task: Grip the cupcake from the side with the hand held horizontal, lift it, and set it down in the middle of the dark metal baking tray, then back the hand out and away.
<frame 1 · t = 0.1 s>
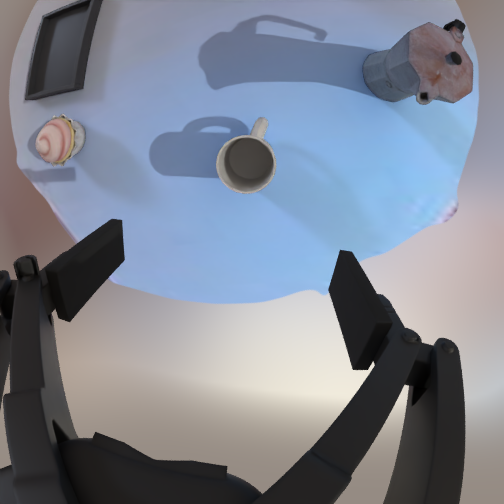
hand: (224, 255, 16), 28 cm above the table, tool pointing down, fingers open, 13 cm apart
cupcake: (74, 137, 39), on the table
cup: (253, 149, 40), on the table
baking tray: (63, 48, 31), on the table
moka pot: (386, 74, 32), on the table
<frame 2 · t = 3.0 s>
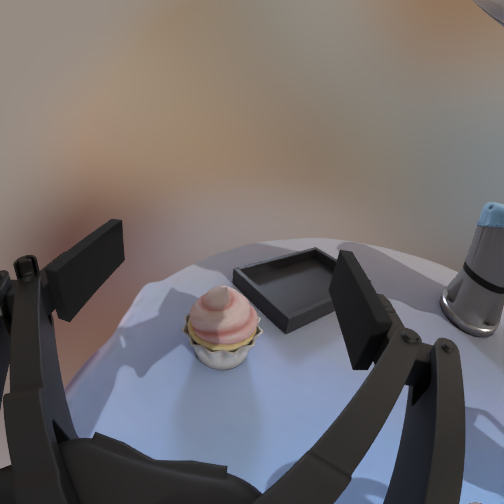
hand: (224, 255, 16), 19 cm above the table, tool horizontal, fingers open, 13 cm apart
cupcake: (222, 353, 33), on the table
baking tray: (302, 289, 47), on the table
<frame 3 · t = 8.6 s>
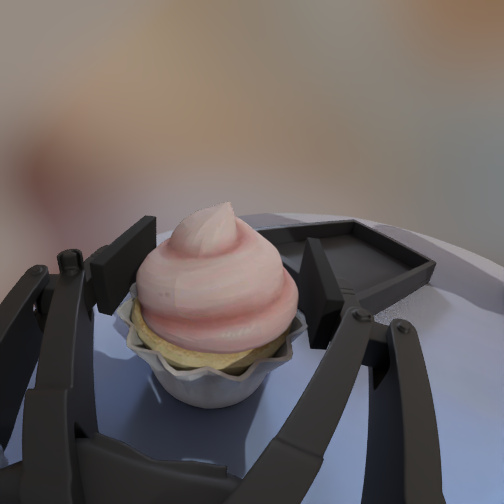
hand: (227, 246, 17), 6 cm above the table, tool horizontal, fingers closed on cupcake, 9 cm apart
cupcake: (210, 370, 15), on the table, touching gripper
baking tray: (344, 269, 30), on the table
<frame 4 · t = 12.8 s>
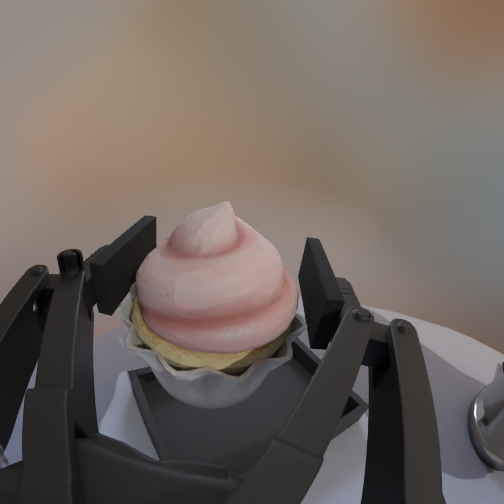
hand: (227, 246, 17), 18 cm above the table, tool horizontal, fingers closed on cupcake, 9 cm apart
cupcake: (210, 370, 15), point 12 cm above the table, touching gripper
baking tray: (246, 413, 24), on the table
when the fingers open (7 cm above the table, at t = 17.1 s): cupcake stays where it is, resting on baking tray.
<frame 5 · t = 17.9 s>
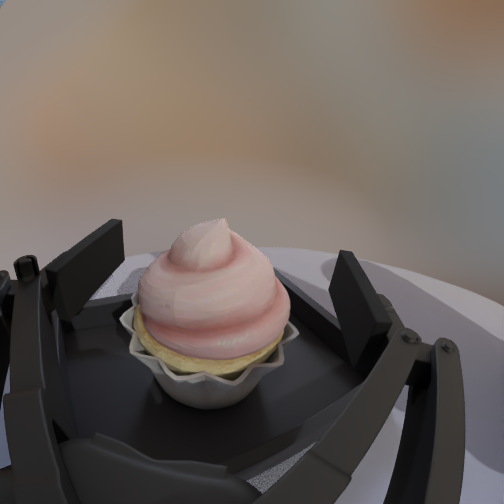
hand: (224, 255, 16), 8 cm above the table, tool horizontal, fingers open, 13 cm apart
cupcake: (207, 373, 16), point 1 cm above the table, touching baking tray
baking tray: (208, 379, 16), on the table
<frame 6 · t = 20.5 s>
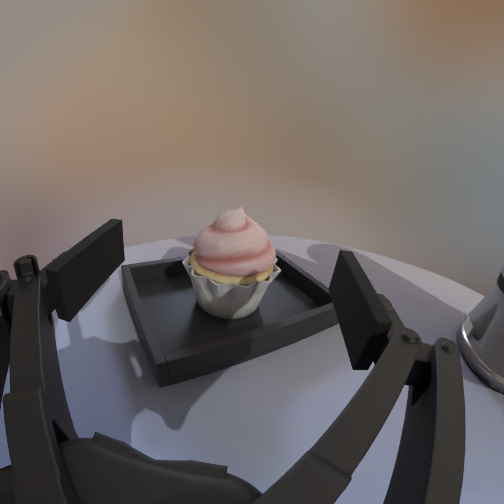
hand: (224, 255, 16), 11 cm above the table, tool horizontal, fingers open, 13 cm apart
cupcake: (227, 302, 28), point 1 cm above the table, touching baking tray
baking tray: (228, 307, 29), on the table
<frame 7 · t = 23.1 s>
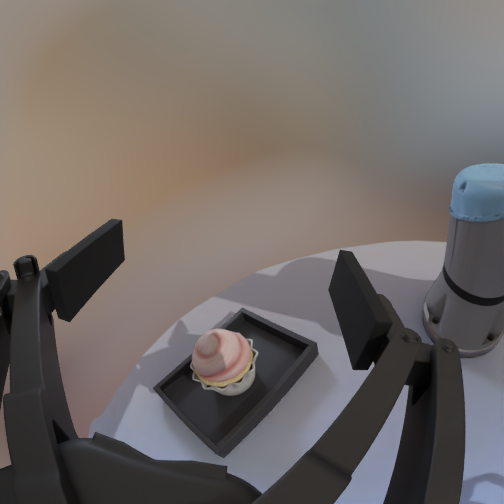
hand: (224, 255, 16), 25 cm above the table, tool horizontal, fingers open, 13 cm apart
cupcake: (235, 378, 36), point 1 cm above the table, touching baking tray
baking tray: (236, 380, 36), on the table
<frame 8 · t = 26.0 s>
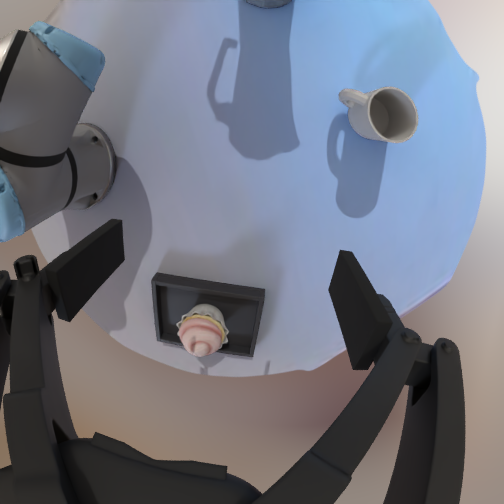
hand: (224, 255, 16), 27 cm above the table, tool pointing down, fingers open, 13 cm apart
cupcake: (206, 315, 50), point 1 cm above the table, touching baking tray
cup: (361, 112, 35), on the table
baking tray: (207, 313, 51), on the table
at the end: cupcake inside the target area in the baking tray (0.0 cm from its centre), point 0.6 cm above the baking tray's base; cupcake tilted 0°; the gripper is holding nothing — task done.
